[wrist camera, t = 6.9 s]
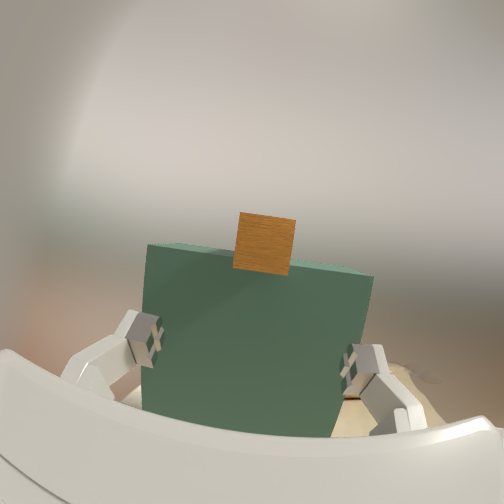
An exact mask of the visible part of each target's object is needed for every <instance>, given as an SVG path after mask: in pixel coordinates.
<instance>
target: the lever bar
mask: <svg viewBox="0 0 504 504" xmlns="http://www.w3.org/2000/svg"><path fill="white" fill-rule="evenodd" d="M295 223H296V220H291V219H285V218H279V217H272V216H264V215H257V214H250V213H242V212H240V217H239V225H238V231H237V238H236V246H235V253H234V260H233V268H237V269H244V270H251V271H258V272H265V273H272V274H279V275H287V276H288V272H289V266H290V259H291V252H292V244H293V238H294V230H295Z"/></svg>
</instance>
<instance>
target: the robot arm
mask: <svg viewBox="0 0 504 504" xmlns="http://www.w3.org/2000/svg"><path fill="white" fill-rule="evenodd" d="M162 323H163V321H162V317H159V316H155V315H151V314H147V313H143V312H139V311H135V310H131V309H130V310H129V311H127V313H126V315H125V316H124V318H123V320H122V321H121V323H120V325H119V326H118V328H117V330H116V332H115V333H114V335H111V334H110V335H109V336H107V337H105V338H104V339H102V340H100V341H98V342H96V343H95V344H93V345H91V346H89V347H87V348H86V349H84V350H82V351H80V352H79V353H77V354H75V355H73V356H72V357H71V359H70V360H69V362H68V364H67V365H66V367H65V369H64V370H63V372H62V374H61V376H60V377H58V376H57V375H54V374H53V373H51V372H49V371H47V370H45V369H43V368H41V367H39V366H37V365H35V364H34V363H32V362H30V361H29V360H27V359H25V358H23V357H22V356H20V355H18V354H17V353H15V352H14V351H12V350H10V349H4V350H1V351H0V504H504V448H503V443H502V439H501V435H500V433H499V431H498V429H497V428H496V427H495V426H494V425H493V424H492V423H491V422H490V421H489V420H488V419H487V418H485V417H484V416H475V417H472V418H469V419H465V420H462V421H458V422H454V423H449V424H445V425H440V426H436V427H431V428H427V424H426V419H425V415H424V410H423V406H422V404H421V403H420V402H419V401H418V400H417V399H416V398H415V397H414V396H413V395H412V394H411V393H410V392H409V391H408V390H407V389H406V387H405V386H404V385H403V384H402V383H401V382H400V381H399V380H398V379H397V378H396V377H395V376H394V375H393V374H390V373H389V369H388V365H387V361H386V357H385V354H384V350H383V347H382V345H375V344H355V343H350V344H349V345H348V347H347V353H345V354H343V356H342V358H341V361H340V366H339V371H340V375H341V376H342V377H343V380H342V381H341V390H342V395H359V397H360V398H361V400H362V401H363V403H364V404H365V406H366V407H367V409H368V410H369V412H370V413H371V415H372V416H373V417H374V419H375V420H376V422H377V423H378V425H377V426H376V427H375V428H374V429H373V430H371V431H370V432H369V436H360V437H335V438H314V437H288V436H274V435H263V434H254V433H246V432H239V431H232V430H226V429H220V428H214V427H209V426H204V425H199V424H194V423H190V422H185V421H181V420H177V419H173V418H169V417H165V416H162V415H158V414H155V413H151V412H148V411H144V410H141V409H138V408H135V407H132V406H129V405H126V404H123V403H120V402H117V401H115V400H114V399H115V396H114V394H113V393H112V391H111V389H110V388H109V386H110V385H112V384H113V383H114V382H115V381H117V380H118V379H119V378H120V377H122V376H123V375H124V374H126V373H127V372H128V371H129V370H131V369H132V368H133V367H135V366H136V364H138V365H142V366H146V367H150V368H154V366H155V364H156V361H157V359H158V354H157V352H158V351H159V350H161V349H162V346H163V344H164V339H165V332H164V329H163V328H162V327H161V326H162Z"/></svg>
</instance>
